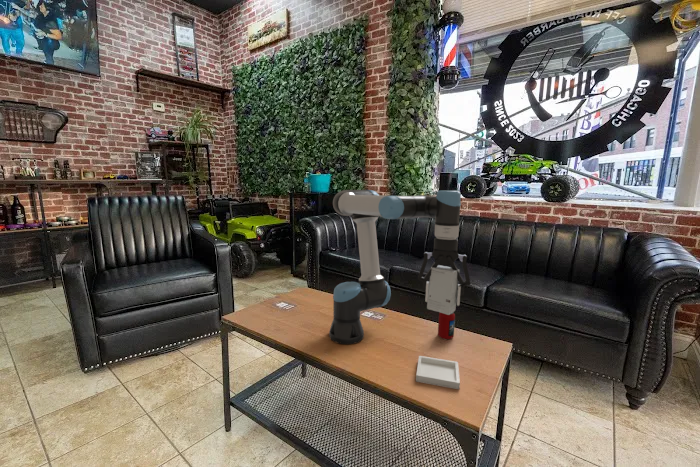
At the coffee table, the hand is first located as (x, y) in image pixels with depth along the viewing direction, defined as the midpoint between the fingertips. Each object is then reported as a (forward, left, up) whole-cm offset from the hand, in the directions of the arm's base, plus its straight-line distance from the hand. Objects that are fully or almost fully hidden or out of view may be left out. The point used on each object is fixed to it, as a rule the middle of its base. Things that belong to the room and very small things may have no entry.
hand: (442, 302), depth 105 cm
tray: (0, 0, -27) cm, 27 cm away
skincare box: (0, 0, -3) cm, 3 cm away
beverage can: (+3, +30, -27) cm, 40 cm away
